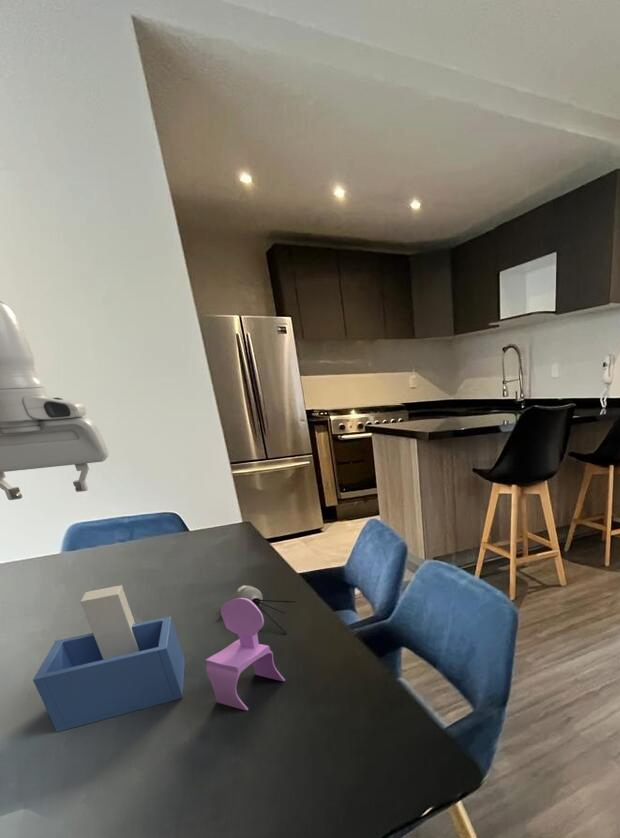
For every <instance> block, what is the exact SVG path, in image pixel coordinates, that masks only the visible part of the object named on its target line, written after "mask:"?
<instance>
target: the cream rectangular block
mask: <svg viewBox="0 0 620 838" xmlns="http://www.w3.org/2000/svg"><path fill="white" fill-rule="evenodd" d="M80 605H81V607H82V609H83V612H84V614H85V617H86V619H87V623H88V624H89V627H90V630H91V633H93V635H94V637H95V640H96V642H97V645H98V647H99V650H100V653H101V655H102V658H103V660H105V659H109V658H113V657H118V656H122V655H126V654H130V653H135V652H139V648H138V645H137V642H136V639H135V636H134V634H133V631H132V625H133V624H136V621H135V619H134V617H133V613H132V611H131V607H130V605H129V602H128V599H127V596H126V593H125V590H124V588H123V585H122V584H121V585H120V584H119V585H115V586H111V587H105V588H100V589H95V590H90V591H85V592H84V594H83V596H82V598H81V600H80Z"/></svg>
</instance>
